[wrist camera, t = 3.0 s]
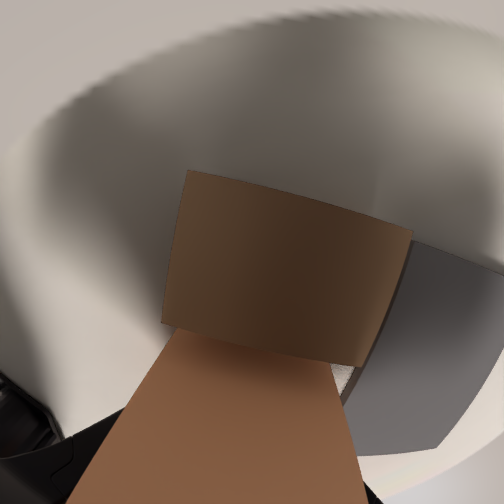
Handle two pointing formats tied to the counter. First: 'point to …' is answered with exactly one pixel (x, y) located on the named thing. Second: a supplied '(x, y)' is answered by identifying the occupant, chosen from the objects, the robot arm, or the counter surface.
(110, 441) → the terracotta block
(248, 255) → the walnut block
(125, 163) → the counter surface
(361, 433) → the charcoal mat
